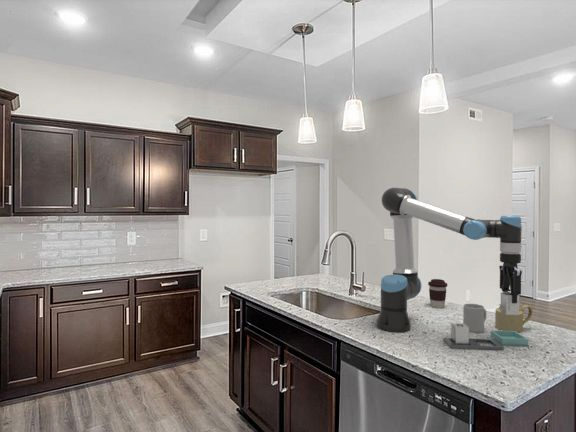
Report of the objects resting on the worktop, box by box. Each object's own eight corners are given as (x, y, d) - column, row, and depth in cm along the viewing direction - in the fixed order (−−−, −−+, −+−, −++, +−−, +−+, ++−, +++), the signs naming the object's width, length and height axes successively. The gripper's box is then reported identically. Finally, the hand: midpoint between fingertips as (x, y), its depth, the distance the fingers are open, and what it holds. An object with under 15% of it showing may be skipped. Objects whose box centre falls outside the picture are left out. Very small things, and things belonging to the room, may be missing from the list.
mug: (474, 334, 168) (475, 309, 167) (458, 328, 175) (459, 304, 175) (493, 330, 173) (493, 306, 172) (477, 325, 180) (477, 302, 180)
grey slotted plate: (450, 348, 150) (450, 345, 150) (443, 340, 159) (443, 337, 159) (503, 350, 149) (503, 347, 149) (492, 342, 158) (493, 339, 158)
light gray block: (455, 347, 152) (455, 326, 152) (451, 342, 157) (451, 322, 157) (468, 347, 151) (468, 326, 151) (463, 343, 156) (463, 322, 156)
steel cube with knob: (506, 314, 156) (506, 294, 156) (500, 311, 161) (500, 291, 161) (519, 314, 156) (519, 294, 155) (512, 311, 161) (513, 291, 160)
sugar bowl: (509, 322, 184) (510, 291, 184) (533, 329, 174) (534, 296, 174) (489, 327, 177) (490, 295, 177) (513, 334, 167) (513, 300, 167)
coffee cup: (441, 310, 206) (442, 282, 206) (424, 306, 214) (424, 279, 213) (450, 307, 213) (450, 280, 212) (433, 303, 220) (433, 277, 220)
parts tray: (501, 345, 154) (502, 338, 154) (490, 336, 164) (490, 330, 164) (528, 346, 153) (528, 339, 153) (515, 337, 163) (515, 331, 163)
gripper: (532, 255, 148) (531, 315, 149) (508, 250, 166) (508, 303, 167) (512, 255, 149) (511, 314, 149) (490, 250, 167) (490, 303, 167)
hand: (509, 308), depth 158 cm, fingers closed on steel cube with knob, 5 cm apart
